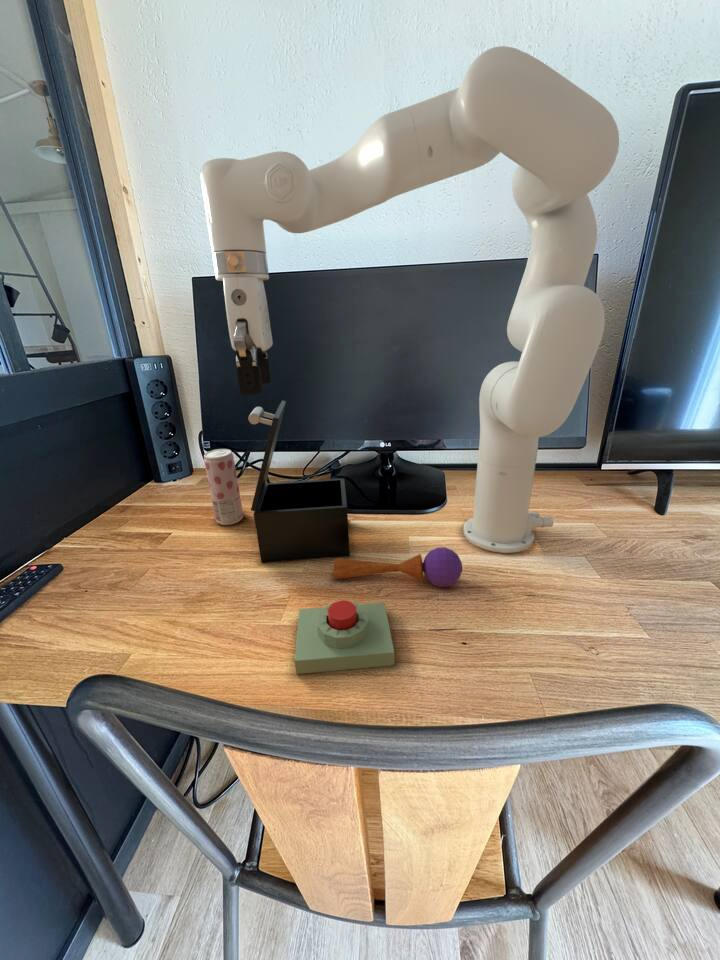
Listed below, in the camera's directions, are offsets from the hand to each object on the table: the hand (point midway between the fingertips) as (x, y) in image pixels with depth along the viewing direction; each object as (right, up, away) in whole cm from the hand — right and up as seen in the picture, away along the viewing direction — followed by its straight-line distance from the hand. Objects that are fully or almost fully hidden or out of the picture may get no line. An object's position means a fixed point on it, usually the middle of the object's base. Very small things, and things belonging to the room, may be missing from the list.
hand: (257, 388), depth 64 cm
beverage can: (-11, -23, +21) cm, 33 cm away
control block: (+15, -36, -12) cm, 41 cm away
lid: (+1, -10, +5) cm, 11 cm away
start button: (+14, -33, -13) cm, 38 cm away
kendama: (+23, -31, 0) cm, 38 cm away
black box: (+7, -26, +12) cm, 30 cm away
